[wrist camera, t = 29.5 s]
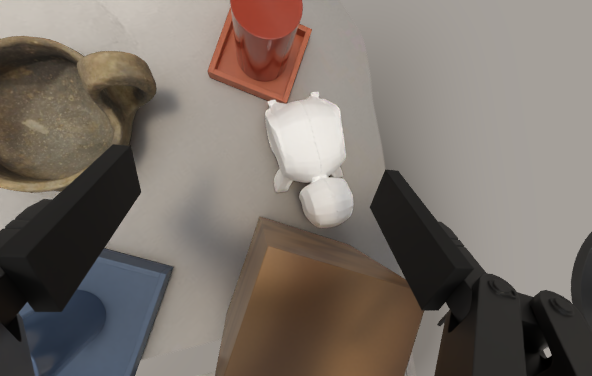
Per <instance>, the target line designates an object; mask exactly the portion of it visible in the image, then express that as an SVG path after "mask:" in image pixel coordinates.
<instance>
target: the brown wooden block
mask: <svg viewBox="0 0 592 376" xmlns="http://www.w3.org/2000/svg"><path fill="white" fill-rule="evenodd" d="M423 313H424V310H421V308H420V306H419V304H418V302H417V300H416V298H415V296H414V294H413V292H412V290H411V288H410V286H409V284H408V282H407V280H406V279H404V278H402V277H401V276H399V275H397V274H396V273H394V272H393V271H391V270H389V269H388V268H386V267H384V266H383V265H381V264H380V263H378V262H376V261H375V260H373V259H371V258H370V257H368V256H367V255H365V254H363V253H362V252H360V251H358V250H357V249H355V248H354V247H352V246H350V245H348V244H345V243H342V242H339V241H336V240H332V239H329V238H326V237H323V236H320V235H317V234H314V233H310V232H307V231H304V230H301V229H298V228H295V227H292V226H288V225H285V224H282V223H279V222H276V221H273V220H270V219H266V218H263V217H259V220H258V223H257V226H256V229H255V232H254V235H253V238H252V241H251V244H250V247H249V249H248V252H247V255H246V258H245V261H244V264H243V267H242V270H241V273H240V276H239V279H238V282H237V284H236V287H235V290H234V293H233V296H232V299H231V302H230V305H229V308H228V311H227V314H226V320H225V325H224V330H223V336H222V341H221V346H220V352H219V357H218V362H217V368H216V373H215V376H404V374H405V371H406V368H407V365H408V361H409V358H410V355H411V352H412V348H413V345H414V342H415V339H416V336H417V332H418V329H419V326H420V323H421V319H422V316H423Z"/></svg>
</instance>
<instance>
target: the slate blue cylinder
mask: <svg viewBox="0 0 592 376" xmlns="http://www.w3.org/2000/svg"><path fill="white" fill-rule="evenodd" d="M21 317H22V319H23V323H24V328H25V332H26V337H27V341H28V346H29V350H30V355H31V360H32V364H33V369H34V373H35V376H57V375H58V374H59V373H60V372H61V371H62V370H63V369H64V368H65V367H66V366H67V365H68V364H69V363H70V362H71V361H72V360H73V359H74V358H75V357H76V356H77V355H78V354H79V353H80V352H82V351H83V350H84V349H85V348H86V347H87V346H88V345H89V344H90V343H91V342H92V341H93V340H94V339H95V338H96V337H97V336H98V335H99V333H100V332H101V331H102V329H103V327H104V325H105V321H106V311H105V307H104V305H103V303H102V302H101V300H100V299H99V298H98V297H96V296H95V295H94V294H92V293H90V292H87V291H83V290H76V291H75V293H74V294H73V296H72V297H71V299H70V300H69V302H68V303H67V305H66V306H65V308H64V309H63V311H62V312H35V311H34V310H33V309H32V310H30V311H29V312H27V313H25V314H23V315H22V316H21Z"/></svg>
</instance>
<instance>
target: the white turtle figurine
mask: <svg viewBox="0 0 592 376" xmlns="http://www.w3.org/2000/svg"><path fill="white" fill-rule="evenodd" d="M267 103H268V105H269V108H268V110H266V112H265V124H266V129H267V135H268V141H269V142H270V143H269V145H270V146H271V149H272V151H273V152H274V155H275V156H276V159H277V162H278V164H279V167H280V168H279V170H278V171H277V173H276V175H275V177H274V187H275V191H276V193H279V192H287V191H288V189H289V187H290V185H291V184H292V182H293V181H298V182H303V183H311V184H309V185H307V186H306V187H304V188H303V189H302V190H301V192H300V195H299V199H300V201H301V203H302V207H303V212H304V214H305V216H306V217H307V219H308V220H309V221H310V222H311V223H312V224H313V225H315V226H316V227H318V228H331V227H335V226H337V225H339V224H342V223H343V222H345V221H346V220H347V219H348V218H349V217H350V216H351V214H352V211H353V206H354V202H353V195H352V191H351V190H350V188H349V186H348V183H347V181H346V180H344V179H343V178H339V177H343V173H342V170H341V168H340V165H341V164H342V163H343V162H344V160H345V159H346V151H345V142H344V135H343V129H342V120H341V114H340V109H339V108H338V106H337V105H336V104H334V103H331V102H330V101H328V100H326V99H320V98H319V92H312V93H310V97H308V98H307V99H305V100H298V101H293V102H290V103H287V104H285V103H279V102H276V100H270V101H267ZM330 175H331V176H332V177H330V178H329V177H328V176H330Z"/></svg>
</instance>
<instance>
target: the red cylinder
mask: <svg viewBox="0 0 592 376" xmlns="http://www.w3.org/2000/svg"><path fill="white" fill-rule="evenodd" d="M230 4H231V13H232V22H233V31H234V40H235V48H236V57H237V61H238V64H239V66H240V68H241V69H242V71H243V72H244V73H245V74H246V75H247V76H249V77H250V78H252V79H254V80H257V81H262V82H266V81H272V80H274V79H276V78H278V77H279V76H280V75H281V74H282V73H283V72H284V70H285V69H286V66H287V63H288V60H289V57H290V53H291V50H292V47H293V43H294V40H295V37H296V33H297V30H298V27H299V23H300V20H301V16H302V11H303V4H302V0H230Z"/></svg>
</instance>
